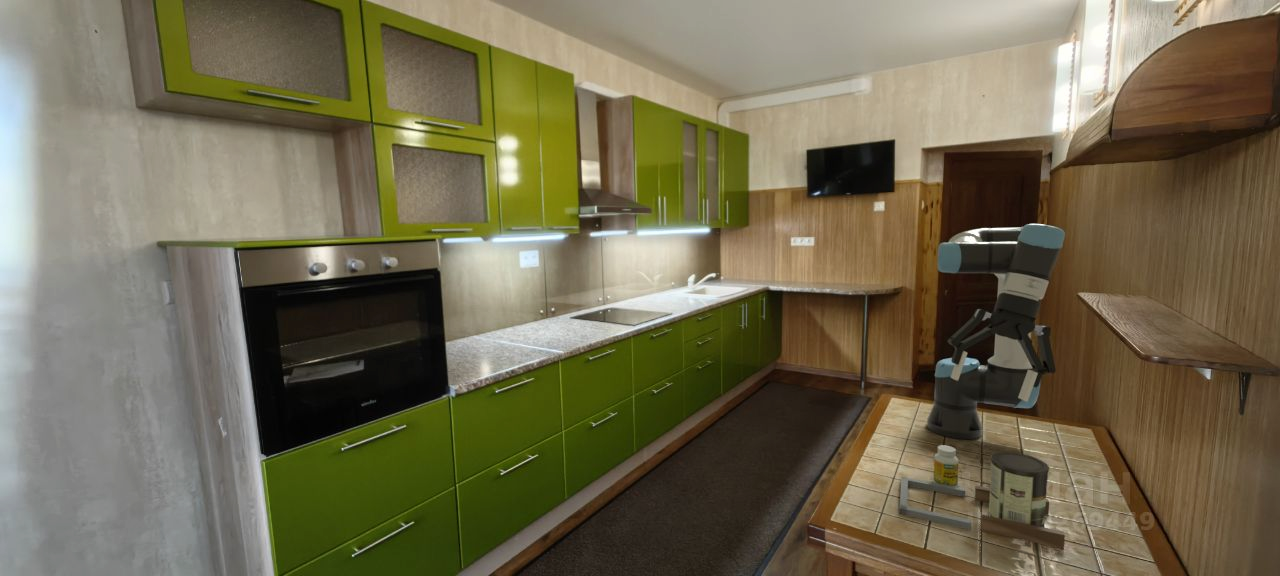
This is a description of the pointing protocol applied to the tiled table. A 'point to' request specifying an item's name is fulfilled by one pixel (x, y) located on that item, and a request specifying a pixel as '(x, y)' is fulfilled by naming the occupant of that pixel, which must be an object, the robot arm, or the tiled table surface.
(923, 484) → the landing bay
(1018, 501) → the coffee can
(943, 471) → the supplement bottle
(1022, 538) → the chute
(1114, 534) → the tiled table surface
